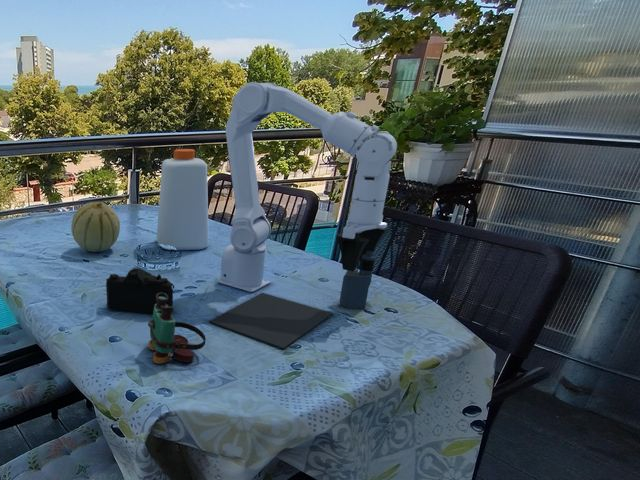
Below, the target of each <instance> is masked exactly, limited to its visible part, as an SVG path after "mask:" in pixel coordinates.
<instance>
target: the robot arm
mask: <svg viewBox="0 0 640 480" xmlns="http://www.w3.org/2000/svg"><path fill="white" fill-rule="evenodd" d="M231 100H232V101H231V102H232V103H231V104H232V106H231V110H230V113H229V116H228V119H227V122H226V125H225V137H226V145H227V152H228V158H229V159H228V160H229V167H230V174H231V183H232V191H233V197H234V205H235V206H234V207H235V211H234V214H233V216H232V219H231V225H232V226H231V231H230V235H229V239H230V244H229V245H227V246H226V247H225V248H224V250H223V252H222V255H221V261H220V264H221V265H220V278H219V280H218V283H219V284H222V285H225V286H229V287H232V288H236V289H239V290H242V291H246V292H250V293H254V292H256V291H258V290H259V289H262V288H263V287H265V286H268V285H269V284H271V282H270V281H269V280H266V279H264V271H265V260H266V253H267V252H266V251H267V250H266V249H267V245H266V241H267V240H268V239H269V238H270V237H271V233H272V226H271V223H270V221H269V220H268V219H267V217H266V211H265V209H264V208H263V207H262V205H261V201H260V200H261V199H260V193H259V185H258V175H257V167H256V158H255V151H254V142H253V132H254V131H255V130H256V128H257V127H258V126H259V124H260V123H261V122H262V121H263V120H264V119H266V118H267V117H268V116H270V115H271V114H273V113H286V114H288V115H290V116H293V117H295V118H296V119H298V120H300V121H302V122H305V123H307V124H309V125H311V126H313V127H314V128H316V129H318V130H320V131H321V136H322V139H323V141H325V142H327V143H329V144H331V145H332V146H334V147H336V148H338V149H339V150H341V151H343V152H345V153H347V154H349V155H350V156H355V158H356V160H357V162H358V166H357V171H356V174H355V176H354V177H355V178H354V183H353V190H352V195H351V202H350V207H349V213H348V218H347V220H346V224H345V226H344V227H343V230H342V232H339V233H336V236H335V240H336V242H337V244H338V247H339V251H340V257H341V266H342V267H341V268H342V270H344V271H347V270H348V271H355V269H357V267H358V264H359V261H362V255H365V254H366V253H367V251H372V252H373V253H372V255H374V253H375V251H376V248H377V246H378V245H379V243H380V241H381V239H382V238H383V237H384V235H385V234H386V233H387V232H388V223H387V222H383V219H384V214H383V213H384V209H385V202H386V198H387V193H388V187H389V184H390V183H389V182H390V177H391V175H390V171H391V169H392V158H393V157H394V156H395V154H396V151H397V149H398V143H397V140H396V138H395V137H394V136H393V135H392V134H390V132H389V131H385V130H384V131H383V130H382V131H378V130H379V129H380V128H379V126H377V125H376V124H374V125H372V126H371V125H369V124H367V123H365V122H363V121H362V120H360V119H358V118H356V116H357V113H354V112H352V111H348V112H347V113H346V112H344V111H338V112H336V113H333V114H332V113H331V112H329V111H327V110H325V109H323V108H322V107H320V106H318V105H317V104H315V103H313V102H312V101H310V100H309V99H306V98H305V97H303V96H302V95H300V94H298V93H297V92H295V91H293V90H291V89H288V88H287V87H285V86H278V85H277V84H276V83H274V82H270V81H269V82H257V81H251V82H248V83H245V84H244V85H243V86H242V87H241V88H240V89H239V90H238V91H237V92H236V93H235V95H234V96H233V97H232V98H231Z"/></svg>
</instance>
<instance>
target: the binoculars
mask: <svg viewBox="0 0 640 480" xmlns="http://www.w3.org/2000/svg"><path fill="white" fill-rule="evenodd" d="M168 298H169V297H168V295H167V294H166V293H158V294H157V295H156V300H157V304H155V306H154V311H153V314H152V317H151V319H150V320H148V322H147V326H148V328H149V332H150V334H149V337H150V340H149V341H148V349H149V350H151V351H155V352H153V354H152V361H153V363H155V364H159V365H160V364H165V363H167V362H169V361H170V359H172V360H176V361H180V362H183V363H191V362H193V361H194V357H195V353H194V351H197V350H202V349H203V348H204V346H205V345H206V341H207V340H206V339H207V338H206V335H205V333H204V332H203V331H202V330H201V329H200V328H198V327H197V326H195V325H193V324H190V323H186V322H182V321H176V319H175V318H174V317H173V316H172V313H173V312H174V308H175V306H174V305H173V306H168V305H167V304H166V302H167V301H168ZM176 328H183V329H186V330H189V331H191V332H194V333H195V334H196V335H198V336H199V337H200V338H201V339H202V340H203V341H202V342H201V343H197V344H195V343H191V344H190V343H189V340H188V338H186V337H185V336H184V335H180V334H175V332H176ZM171 353H172V356H171Z"/></svg>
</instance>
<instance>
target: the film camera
mask: <svg viewBox="0 0 640 480" xmlns="http://www.w3.org/2000/svg"><path fill="white" fill-rule="evenodd" d="M105 289H106V290H105V291H106V292H105V293H106V306H107V307H106V308H107V309H108V310H109V311H117V312H125V313H135V314H143V315H153V311H154V306H155V304H157V300H156V295H157V294H158V293H166V294H167V295H168V297H169V298H168V301H167V302H166V304H167V305H168V306H173V307H174V289H175V285H174V284H173V283H172V282H171V281H170V280H169V279H168V278H166V277H162V276H161V274H157V276H156V275H154V274H151V273H150V272H148V271H146V270H144V269H142V268H137V267H133V268H132V269H130V270H129V271H128V272H127V273H126V275H125V276H123V275H122V276H121V275H119V274H117V273H111V274H110V275H109V277H108V278H106V282H105Z"/></svg>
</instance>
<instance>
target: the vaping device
mask: <svg viewBox="0 0 640 480" xmlns="http://www.w3.org/2000/svg"><path fill="white" fill-rule="evenodd" d="M372 253H373V252H372V251H367V253H366V254H365V255H362V261H361V262H360V267H359V269H358V268H356V269H355V271H348V270H346V272H345V274H344V275H343V278H342V284H341V289H340V295H339V306H341V307H343V308H346V309H350V308H351V309H366V304H367V299H368V294H369V290H370V289H369V288H370V285H371V283H372V278H373V271H374V266H375V262H376V256H375V255H374V253H373V255H372Z"/></svg>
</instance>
